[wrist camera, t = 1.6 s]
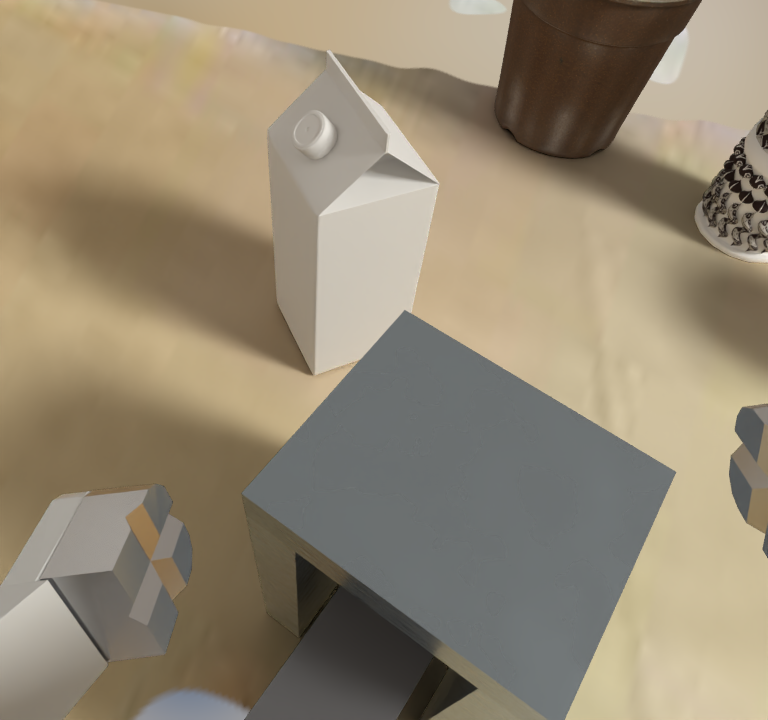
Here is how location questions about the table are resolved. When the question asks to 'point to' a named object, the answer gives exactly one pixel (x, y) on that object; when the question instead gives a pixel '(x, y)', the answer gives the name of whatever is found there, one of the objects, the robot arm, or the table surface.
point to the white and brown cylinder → (740, 200)
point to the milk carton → (345, 219)
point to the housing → (457, 521)
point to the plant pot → (581, 68)
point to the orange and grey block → (345, 668)
